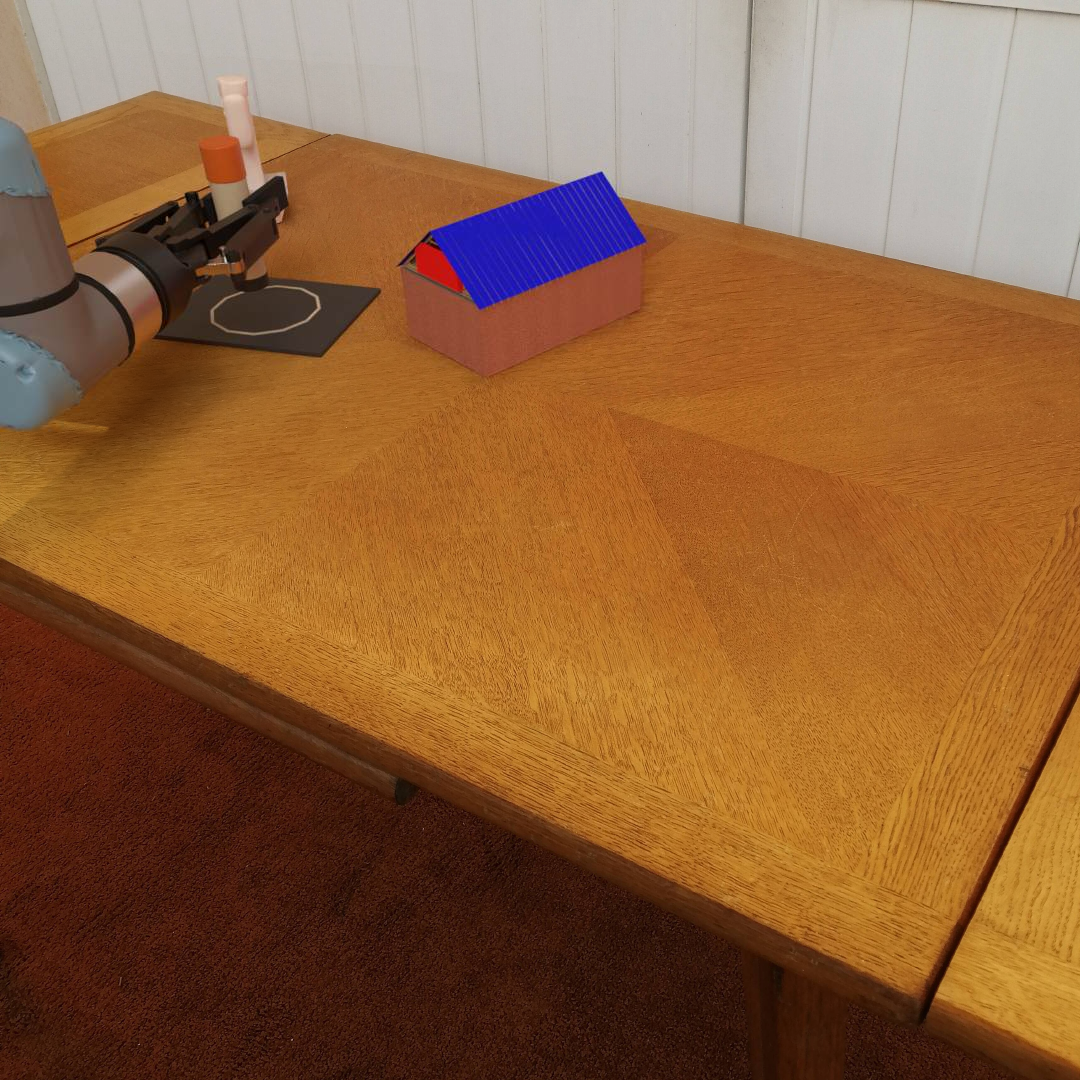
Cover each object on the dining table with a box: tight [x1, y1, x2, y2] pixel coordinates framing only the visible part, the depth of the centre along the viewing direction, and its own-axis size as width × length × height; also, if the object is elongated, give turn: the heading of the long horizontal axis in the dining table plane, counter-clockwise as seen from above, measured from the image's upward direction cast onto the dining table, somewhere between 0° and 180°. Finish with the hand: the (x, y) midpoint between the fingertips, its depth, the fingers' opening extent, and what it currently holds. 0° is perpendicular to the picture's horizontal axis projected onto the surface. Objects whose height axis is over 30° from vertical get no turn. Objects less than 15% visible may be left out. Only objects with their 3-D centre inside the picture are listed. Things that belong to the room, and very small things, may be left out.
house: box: [395, 170, 648, 379], centre depth 102 cm, size 12×20×12 cm, turn 134°
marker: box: [198, 135, 270, 292], centre depth 100 cm, size 3×3×13 cm
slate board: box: [152, 274, 382, 358], centre depth 108 cm, size 18×14×1 cm
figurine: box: [216, 75, 289, 223], centre depth 122 cm, size 7×9×15 cm
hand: (263, 189), depth 104 cm, fingers closed on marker, 3 cm apart
